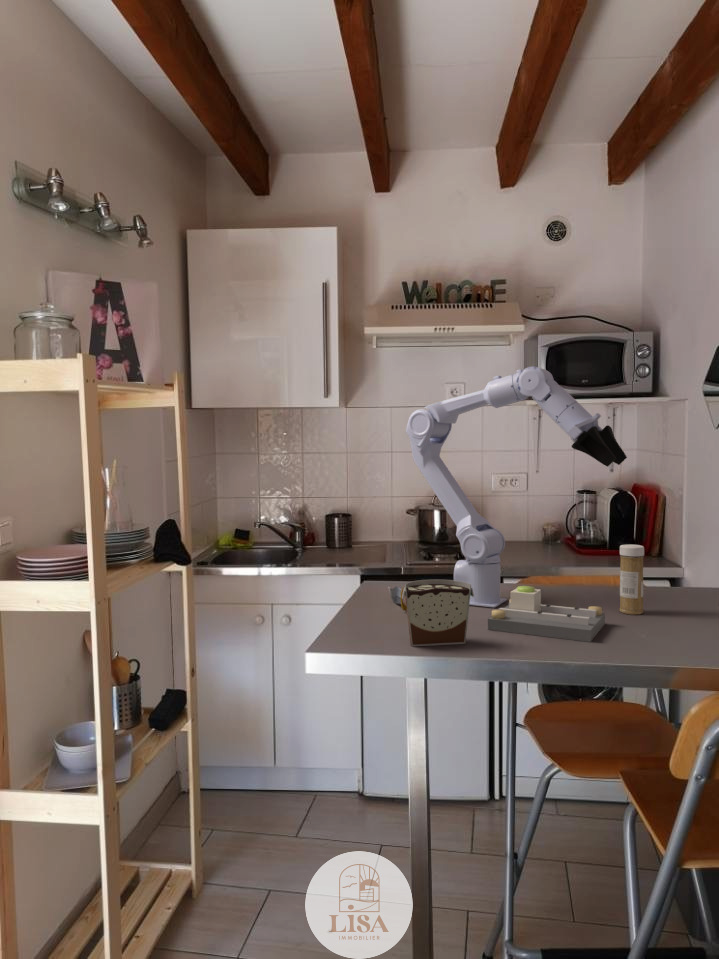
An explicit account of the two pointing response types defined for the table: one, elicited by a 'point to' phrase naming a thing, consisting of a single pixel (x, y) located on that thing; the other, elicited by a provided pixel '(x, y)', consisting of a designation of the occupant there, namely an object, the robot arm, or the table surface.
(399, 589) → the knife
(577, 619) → the levelling base
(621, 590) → the sprinkles bottle
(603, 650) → the table surface
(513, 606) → the block
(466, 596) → the food container
